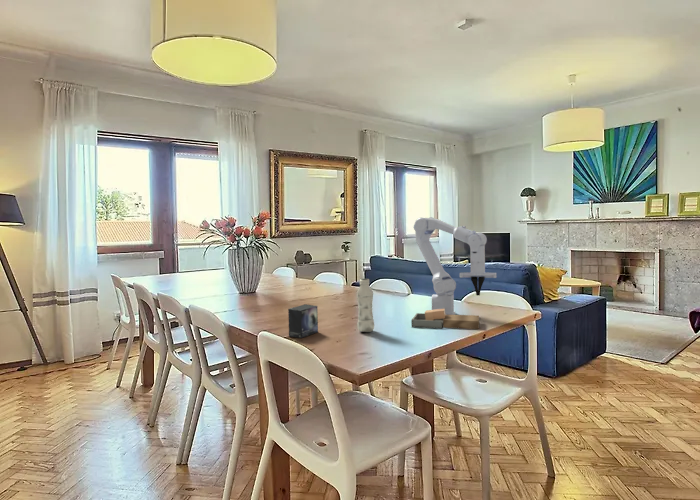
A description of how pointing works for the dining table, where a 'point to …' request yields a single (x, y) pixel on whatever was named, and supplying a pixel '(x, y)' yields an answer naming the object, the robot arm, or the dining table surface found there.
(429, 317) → the tan square block
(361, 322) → the plastic bottle
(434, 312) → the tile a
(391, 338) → the dining table surface
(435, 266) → the robot arm
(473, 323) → the board
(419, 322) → the tray
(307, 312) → the small box
